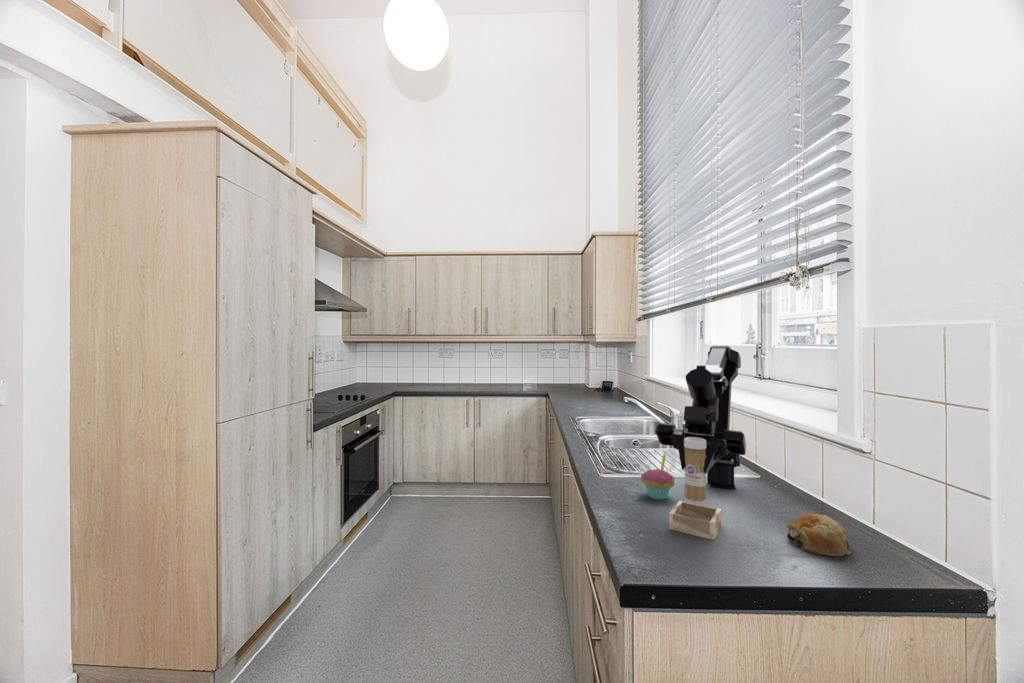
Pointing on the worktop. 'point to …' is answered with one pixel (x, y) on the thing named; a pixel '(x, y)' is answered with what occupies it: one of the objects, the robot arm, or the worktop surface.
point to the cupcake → (658, 482)
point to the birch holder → (695, 519)
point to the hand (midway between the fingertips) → (693, 470)
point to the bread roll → (819, 535)
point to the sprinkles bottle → (695, 468)
